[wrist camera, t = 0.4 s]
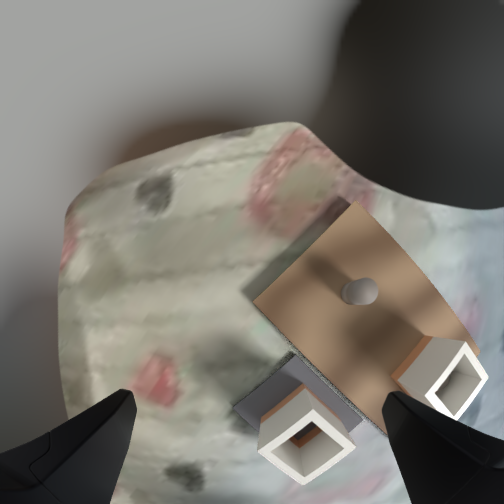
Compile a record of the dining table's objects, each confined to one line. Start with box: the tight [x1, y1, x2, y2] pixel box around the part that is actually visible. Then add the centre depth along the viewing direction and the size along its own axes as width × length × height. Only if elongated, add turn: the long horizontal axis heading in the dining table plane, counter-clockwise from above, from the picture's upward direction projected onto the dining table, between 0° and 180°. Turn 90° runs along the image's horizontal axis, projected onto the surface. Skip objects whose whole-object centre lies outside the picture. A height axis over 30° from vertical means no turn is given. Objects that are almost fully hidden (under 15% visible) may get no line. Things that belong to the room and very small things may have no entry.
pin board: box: [253, 200, 480, 435], centre depth 18 cm, size 20×12×5 cm, turn 43°
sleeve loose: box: [257, 383, 356, 485], centre depth 16 cm, size 5×5×6 cm
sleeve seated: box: [390, 335, 488, 420], centre depth 15 cm, size 5×5×6 cm
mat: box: [233, 354, 363, 440], centre depth 20 cm, size 9×7×1 cm
